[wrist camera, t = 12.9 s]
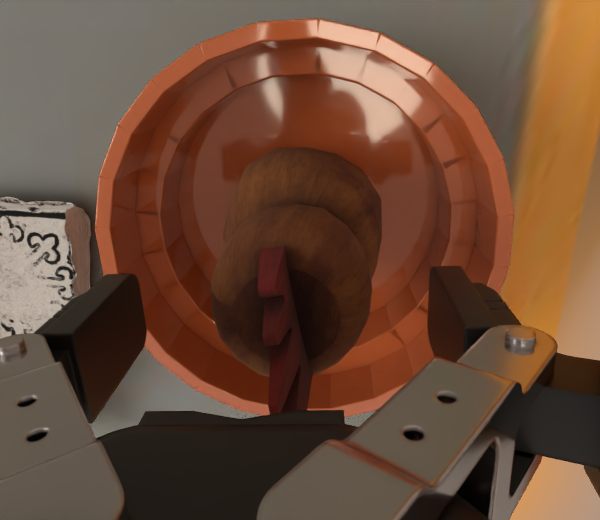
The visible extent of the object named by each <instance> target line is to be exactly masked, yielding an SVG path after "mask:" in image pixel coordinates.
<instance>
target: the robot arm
mask: <svg viewBox="0 0 600 520" xmlns="http://www.w3.org/2000/svg"><path fill="white" fill-rule="evenodd" d="M427 326H428V337H429V342H430V345H431V348H432V351H433V354H434V356H435V357H434V358H433V359H432V360H431V361H430V362H429V363H427V364H426V365H425V366H424V367H423V368H422V369H421V370H420V371H419V372H418V373H417V374H416V375H415V376H413V377H412V378H411V379H410V380H409V381H408V382H407V383H406V384H405V385H404V386H403V387H402V388H400V389H399V390H398V391H397V392H396V393H395V394H394V395H393V396H392V397H391V398H390V399H389V400H388V401H386V402H385V403H384V404H383V405H382V406H381V407H380V408H379V409H378V410H377V411H376V412H375V413H373V414H372V415H371V416H370V417H369V418H368V419H367V420H366V421H365V422H364V423H363V424H362V425H361V426H359V427H355V426H352V425H347V424H344V410H294V411H288V412H282V413H276V414H270V415H264V416H259V417H253V418H247V419H236V418H230V417H224V416H219V415H213V414H207V413H201V412H196V411H146V412H145V413H144V415H143V417H142V419H141V421H140V423H139V425H137V426H132V427H128V428H124V429H120V430H117V431H114V432H111V433H108V434H106V435H103V436H101V437H99V438H95V435H94V433H93V431H92V429H91V427H90V425H89V423H93V422H94V420H95V419H96V417H97V416H98V414H99V413H100V411H101V410H102V408H103V407H104V405H105V404H106V402H107V401H108V399H109V398H110V397H111V395H112V394H113V392H114V391H115V389H116V388H117V386H118V385H119V383H120V382H121V380H122V379H123V377H124V376H125V374H126V373H127V371H128V370H129V368H130V367H131V365H132V364H133V362H134V361H135V359H136V358H137V356H138V355H139V353H140V352H141V350H142V349H143V347H144V345H145V342H146V336H147V327H146V320H145V314H144V308H143V303H142V297H141V291H140V285H139V281H138V278H137V276H136V275H135V274H133V273H132V274H106V275H105V276H104V277H102V278H101V279H100V280H99V281H98V282H97V283H96V284H95V285H94V286H93V287H92V288H90V289H89V290H88V291H87V292H85V293H83V294H81V295H79V296H77V297H75V298H73V299H71V300H70V301H69V302H68V303H67V304H66V305H64V306H63V307H62V308H61V310H59V311H58V312H57V313H55V314H54V315H53V318H50V319H49V320H48V321H46V322H45V323H44V324H43V325H42V326H41V327H40V328H39V329H37V330H36V331H35V332H34V333H24V334H16V335H12V336H8V337H4V338H1V339H0V520H510V517H511V515H512V513H513V511H514V510H515V508H516V506H517V504H518V502H519V500H520V499H521V497H522V495H523V493H524V491H525V490H526V488H527V486H528V484H529V482H530V480H531V479H532V477H533V475H534V473H535V471H536V470H537V468H538V466H539V464H540V462H541V459H542V456H545V457H549V458H554V459H559V460H563V461H568V462H572V463H578V464H582V465H584V469H585V471H586V474H587V475H588V477H589V479H590V481H591V483H592V484H593V486H594V488H595V490H596V492H597V493H598V495H599V497H600V361H599V360H591V359H585V358H578V357H572V356H567V355H563V354H560V353H557V342H556V341H555V339H554V338H552V337H551V336H550V335H548V334H547V333H545V332H543V331H541V330H538V329H535V328H532V327H527V326H522V325H521V323H520V322H519V321H518V319H517V318H516V317H515V315H514V314H513V313H512V311H511V310H510V309H508V306H507V305H506V303H505V302H503V300H502V298H501V297H500V296H499V294H498V293H497V292H496V290H494V289H492V288H490V287H488V286H487V285H485V284H483V283H472V282H471V281H470V279H469V278H468V276H467V275H466V273H465V272H464V270H463V269H462V267H461V266H432V267H431V269H430V274H429V295H428V319H427Z"/></svg>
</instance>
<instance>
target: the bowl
mask: <svg viewBox="0 0 600 520" xmlns="http://www.w3.org/2000/svg"><path fill="white" fill-rule="evenodd" d="M118 124H119V125H117V127H116V130H115V132H114V135H113V138H112V141H111V143H110V146H109V149H108V151H107V154H106V157H105V160H104V162H103V165H102V168H101V170H100V173H99V175H100V176H99V179H98V192H97V206H96V219H95V233H96V238H97V243H98V248H99V253H100V259H101V264H102V269H103V274H104V276H105V275H106V274H132V273H133V274H135V275H136V276H137V278H138V281H139V285H140V291H141V297H142V303H143V308H144V314H145V320H146V327H147V336H146V342H145V345H144V346H145V347H146V348H147V349H148V351H149V352H150V353H151V354H152V356H153V357H154V358H155V359H156V360H157V361H158V362H159V363H161V364H162V365H163V366H165V367H166V368H167V369H169V370H170V371H171V372H172V373H174V374H175V375H176V376H178V377H179V378H180V379H181V380H183V381H184V382H185V383H187V384H188V385H189V386H191V387H192V388H193V389H195V390H196V391H199V392H201V393H203V394H205V395H207V396H209V397H211V398H214V399H216V400H218V401H220V402H222V403H224V404H227V405H229V406H231V407H233V408H235V409H239V410H240V411H245V412H249V413H254V414H259V415H263V416H264V415H270V412H269V407H268V397H269V377H267V376H263V375H260V374H258V373H257V372H255V371H254V370H252V369H250V368H249V367H247V366H246V365H244V364H243V363H241V362H240V361H238V360H237V359H236V358H235V357H234V356H233V354H232V353H231V352H230V350H229V349H228V348H227V346H226V345H225V344H224V342H223V341H222V340H221V338H220V335H219V332H218V330H217V327H216V324H215V321H214V318H213V315H212V304H211V279H212V276H213V273H214V271H215V268H216V265H217V262H218V259H219V256H220V254H221V252H222V241H223V231H224V227H225V223H226V219H227V215H228V211H229V207H230V203H231V201H232V199H233V196H234V194H235V191H236V189H237V187H238V184H239V182H240V179H241V177H242V175H243V172H244V170H245V168H246V167H247V166H248V165H249V164H250V163H252V162H254V161H255V160H257V159H259V158H260V157H262V156H264V155H265V154H267V153H269V152H270V151H272V150H274V149H275V148H301V147H307V148H312V149H316V150H321V151H326V152H330V153H335V154H337V155H339V156H341V157H342V158H344V159H346V160H347V161H349V162H351V163H352V164H354V165H356V166H357V167H359V168H361V169H362V170H363V171H364V173H365V174H366V176H367V177H368V179H369V180H370V182H371V183H372V185H373V186H374V188H375V189H376V191H377V192H378V194H379V196H380V198H381V211H382V239H381V245H380V250H379V256H378V262H377V266H376V269H375V272H374V275H373V277H372V280H371V281H372V294H371V307H370V315H369V317H368V320H367V322H366V324H365V326H364V328H363V330H362V332H361V334H360V336H359V338H358V340H357V342H356V344H355V345H354V346H353V347H352V349H351V350H350V351H349V352H348V353H347V354H346V355H345V356H344V357H343V358H342V359H341V360H340V361H339V362H338V363H337V364H335V365H333V366H331V367H330V368H328V369H326V370H324V371H322V372H321V373H319V374H317V375H315V376H312V383H311V389H310V395H309V402H308V407H307V410H344V417H348V416H353V415H357V414H362V413H366V412H370V411H375V410H378V409H379V408H380V407H381V406H382V405H383V404H384V403H385V402H386V401H388V400H389V399H390V398H391V397H392V396H393V395H394V394H395V393H396V392H397V391H398V390H399V389H400V388H402V387H403V386H404V385H405V384H406V383H407V382H408V381H409V380H410V379H411V378H412V377H413V376H415V375H416V374H417V373H418V372H419V371H420V370H421V369H422V368H423V367H424V366H425V365H426V364H427V363H429V362H430V361H431V360H432V359H433V358H434V357H435V356H434V354H433V351H432V348H431V345H430V342H429V337H428V326H427V319H428V295H429V274H430V269H431V267H432V266H461V267H462V269H463V270H464V272H465V273H466V275H467V276H468V278H469V279H470V281H471V282H472V283H483V284H485V285H487V286H488V287H490V288H492V289H494V290H496V292H497V293H498V294H499V293H500V291H501V288H502V286H503V283H504V280H505V278H506V275H507V273H508V270H509V266H510V257H511V246H512V236H513V225H514V208H513V203H512V197H511V192H510V187H509V182H508V177H507V171H506V166H505V161H504V159H503V156H502V154H501V152H500V150H499V148H498V146H497V144H496V142H495V140H494V138H493V136H492V134H491V132H490V131H489V129H488V127H487V125H486V123H485V121H484V119H483V117H482V115H481V113H480V111H479V109H478V108H477V107H476V105H475V104H474V103H473V102H472V101H471V100H470V99H469V98H468V97H467V96H466V95H465V94H464V93H463V92H462V90H461V89H460V88H459V87H458V86H457V85H456V84H455V83H454V82H453V81H452V80H451V79H450V78H449V77H448V76H447V75H446V74H445V73H444V72H443V71H442V70H441V69H440V68H439V67H438V66H437V65H436V64H434V63H433V62H432V61H431V60H429V59H427V58H425V57H424V56H422V55H420V54H418V53H416V52H415V51H413V50H411V49H409V48H408V47H406V46H404V45H402V44H401V43H399V42H397V41H395V40H393V39H392V38H390V37H388V36H386V35H385V34H383V33H380V32H378V31H373V30H369V29H365V28H360V27H356V26H352V25H347V24H343V23H339V22H334V21H330V20H326V19H321V18H320V19H318V18H311V19H295V20H279V21H263V22H257V23H252V24H249V25H247V26H244V27H241V28H238V29H236V30H233V31H230V32H227V33H225V34H222V35H219V36H217V37H214V38H211V39H208V40H206V41H203V42H201V43H200V44H197V45H195V46H194V47H193V48H191V49H190V50H189V51H187V52H186V53H185V54H183V55H182V56H181V57H179V58H178V59H177V60H175V61H174V62H173V63H171V64H170V65H169V66H167V67H166V68H165V69H163V70H162V71H161V72H159V73H158V74H157V75H155V76H154V77H153V78H152V79H151V80H150V81H149V82H148V84H147V85H146V86H145V88H144V89H143V90H142V92H141V93H140V94H139V96H138V97H137V98H136V100H135V101H134V102H133V104H132V105H131V106H130V108H129V109H128V111H127V112H126V113H125V115H124V116H123V117H122V119H121V120H120V121H119V123H118Z"/></svg>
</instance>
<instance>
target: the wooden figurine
mask: <svg viewBox="0 0 600 520" xmlns="http://www.w3.org/2000/svg"><path fill="white" fill-rule="evenodd" d="M381 239H382V211H381V198H380V196H379V194H378V192H377V191H376V189H375V188H374V186H373V185H372V183H371V182H370V180H369V179H368V177H367V176H366V174H365V173H364V171H363V170H362V169H361V168H359V167H357V166H356V165H354V164H352V163H351V162H349V161H347V160H346V159H344V158H342V157H341V156H339V155H337V154H335V153H330V152H326V151H321V150H316V149H312V148H307V147H301V148H275V149H274V150H272V151H270V152H269V153H267V154H265V155H264V156H262V157H260V158H259V159H257V160H255V161H254V162H252V163H250V164H249V165H248V166H247V167H246V168H245V170H244V172H243V175H242V177H241V179H240V182H239V184H238V187H237V189H236V191H235V194H234V196H233V199H232V201H231V203H230V207H229V211H228V215H227V219H226V223H225V227H224V231H223V241H222V252H221V254H220V256H219V259H218V262H217V265H216V268H215V271H214V273H213V276H212V279H211V304H212V315H213V318H214V321H215V324H216V327H217V330H218V332H219V335H220V338H221V340H222V341H223V342H224V344H225V345H226V346H227V348H228V349H229V350H230V352H231V353H232V354H233V356H234V357H235V358H236V359H237V360H238V361H240V362H241V363H243V364H244V365H246V366H247V367H249V368H250V369H252V370H254V371H255V372H257V373H258V374H260V375H263V376H267V377H269V397H268V407H269V412H270V414H276V413H282V412H288V411H294V410H307V407H308V402H309V395H310V389H311V383H312V376H315V375H317V374H319V373H321V372H322V371H324V370H326V369H328V368H330V367H331V366H333V365H335V364H337V363H338V362H339V361H340V360H341V359H342V358H343V357H344V356H345V355H346V354H347V353H348V352H349V351H350V350H351V349H352V347H353V346H354V345H355V344H356V342H357V340H358V338H359V336H360V334H361V332H362V330H363V328H364V326H365V324H366V322H367V320H368V317H369V315H370V307H371V294H372V281H371V280H372V277H373V275H374V272H375V269H376V266H377V262H378V256H379V250H380V245H381Z"/></svg>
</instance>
